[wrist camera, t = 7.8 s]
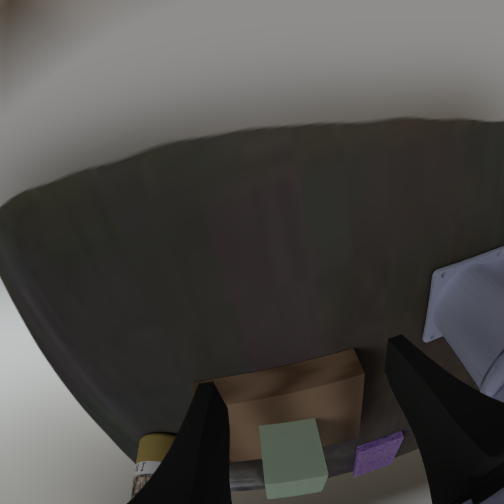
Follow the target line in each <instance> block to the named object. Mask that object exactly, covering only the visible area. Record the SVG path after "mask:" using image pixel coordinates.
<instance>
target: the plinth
mask: <svg viewBox="0 0 504 504" xmlns="http://www.w3.org/2000/svg"><path fill="white" fill-rule="evenodd" d="M364 377H365V373H364V371H363V368H362V366H361V364H360V362H359V359H358V357H357V355H356V352H355V350H354V348H352V349H349V350H345V351H342V352H338V353H334V354H331V355H327V356H323V357H319V358H315V359H311V360H307V361H303V362H299V363H294V364H290V365H286V366H281V367H276V368H272V369H267V370H262V371H257V372H251V373H246V374H241V375H235V376H229V377H223V378H217V379H210V380H203V381H196V382H194V389H193V396H194V393H195V391H196V388H197V385H198V384H199V383H206V382H212V381H213V382H214V384H215V386H216V387H217V389H218V391H219V393H220V395H221V397H222V398H223V400H224V402H225V404H226V406H227V408H228V415H229V424H230V456H229V459H230V461H231V462H241V461H249V460H256V459H262V452H261V442H260V432H259V426H261V425H270V424H278V423H286V422H293V421H300V420H306V419H312V418H315V420H316V424H317V428H318V433H319V437H320V441H321V445H322V447H324V446H328V445H332V444H335V443H339V442H343V441H346V440H350V439H353V438H356V437H358V436H359V429H360V420H361V411H362V401H363V390H364Z"/></svg>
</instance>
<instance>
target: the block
mask: <svg viewBox="0 0 504 504" xmlns="http://www.w3.org/2000/svg"><path fill="white" fill-rule="evenodd" d="M259 432H260V442H261V452H262V462H263V471H264V481H265V488H266V493H267V499H273V498H282V497H290V496H297V495H303V494H309V493H315V492H320V491H322V489H323V487H324V485H325V482H326V480H327V477H328V471H327V466H326V462H325V458H324V454H323V449H322V445H321V441H320V437H319V433H318V428H317V424H316V420H315V418H312V419H306V420H300V421H293V422H286V423H278V424H270V425H261V426H259Z"/></svg>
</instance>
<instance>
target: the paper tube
mask: <svg viewBox="0 0 504 504" xmlns="http://www.w3.org/2000/svg"><path fill="white" fill-rule="evenodd" d="M175 437H176V435H172V434H166V433H151V434H147V435H145V436H144V437H143V438H141V440H140V443H139V449H138V455H137V461H136V466H135V473H134V480H133V487H132V494H131V499H132V498H133V497H134V496H135V495H136V494H137V493H138V492H139V491H140V489H141V488H142V487H143V486H144V485H145V484H146V482H147V481H148V480H149V479H150V477H151V476H152V475H153V473H154V472H155V470H156V469H157V468H158V466H159V465H160V463H161V462H162V460H163V459H164V457H165V455H166V454H167V452H168V450H169V449H170V447H171V445H172V443H173V441H174V439H175Z"/></svg>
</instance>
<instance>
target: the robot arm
mask: <svg viewBox="0 0 504 504" xmlns="http://www.w3.org/2000/svg"><path fill="white" fill-rule="evenodd" d="M442 336H443V337H444V338H445V339H446V341H447V342H448V343H449V345H450V346H451V348H452V349H453V350H454V352H455V353H456V355H457V356H458V358H459V359H460V360H461V362H462V363H463V365H464V366H465V368H466V369H467V371H468V372H469V374H470V375H471V377H472V378H473V380H474V381H475V383H476V384H477V386H478V387H479V389H480V392H479V391H477V390H475V389H474V388H472V387H470V386H468V385H467V384H465V383H463V382H462V381H460V380H459V379H457V378H456V377H454V376H453V375H451V374H450V373H448V372H447V371H446V370H444V369H443V368H442V367H440V366H439V365H438V364H437V363H435V362H434V361H433V360H431V359H430V358H429V357H428V356H426V355H425V354H424V353H423V352H422V351H420V350H419V349H418V348H417V347H416V346H415V345H413V344H412V343H411V342H410V341H409V340H408V339H407V338H405V337H404V336H403V335H398V336H395V337H392V338H389V339H388V346H387V355H386V364H385V372H386V375H387V378H388V380H389V383H390V386H391V388H392V391H393V393H394V395H395V397H396V399H397V401H398V403H399V405H400V407H401V409H402V410H403V412H404V414H405V416H406V418H407V420H408V422H409V424H410V426H411V428H412V431H413V433H414V435H415V438H416V441H417V444H418V447H419V450H420V453H421V456H422V460H423V463H424V467H425V470H426V475H427V478H428V483H429V487H430V493H431V499H432V504H504V246H502V247H499V248H497V249H494V250H491V251H489V252H486V253H483V254H480V255H478V256H475V257H472V258H469V259H466V260H464V261H461V262H458V263H455V264H452V265H449V266H446V267H443V268H440V269H437V270H435V271H434V273H433V275H432V282H431V290H430V297H429V304H428V310H427V316H426V322H425V328H424V333H423V338H422V339H423V341H424V342H429V341H432V340H434V339H437V338H439V337H442ZM229 456H230V424H229V415H228V408H227V406H226V404H225V402H224V400H223V398H222V397H221V395H220V393H219V391H218V389H217V387H216V386H215V384H214V382H213V381H212V382H206V383H199V384H198V385H197V388H196V391H195V393H194V396H193V399H192V401H191V404H190V406H189V409H188V411H187V414H186V416H185V418H184V420H183V423H182V425H181V427H180V429H179V431H178V433H177V435H176V437H175V439H174V441H173V443H172V445H171V447H170V449H169V450H168V452H167V454H166V455H165V457H164V459H163V460H162V462H161V463H160V465H159V466H158V468H157V469H156V470H155V472H154V473H153V475H152V476H151V477H150V479H149V480H148V481H147V482H146V484H145V485H144V486H143V487H142V488H141V489H140V491H139V492H138V493H137V494H136V495H135V496H134V497H133V498H132V499H131V500H130V501H129V502H128V503H127V504H232V502H231V492H230V483H229Z"/></svg>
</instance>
